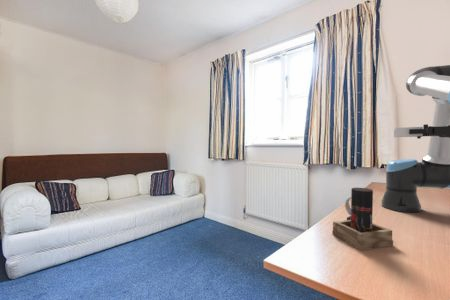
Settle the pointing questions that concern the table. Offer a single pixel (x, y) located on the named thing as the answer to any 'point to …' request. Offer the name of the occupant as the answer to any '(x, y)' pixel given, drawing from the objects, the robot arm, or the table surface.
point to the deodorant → (361, 209)
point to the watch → (348, 208)
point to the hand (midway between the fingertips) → (394, 132)
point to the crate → (363, 235)
